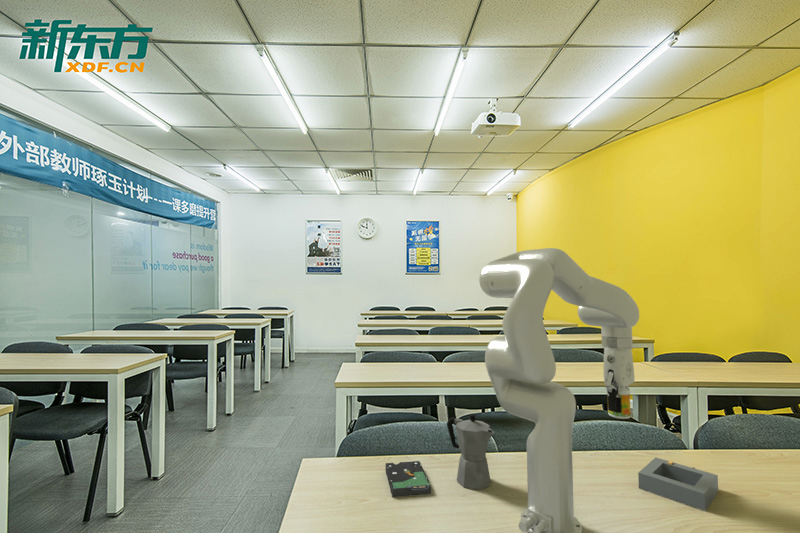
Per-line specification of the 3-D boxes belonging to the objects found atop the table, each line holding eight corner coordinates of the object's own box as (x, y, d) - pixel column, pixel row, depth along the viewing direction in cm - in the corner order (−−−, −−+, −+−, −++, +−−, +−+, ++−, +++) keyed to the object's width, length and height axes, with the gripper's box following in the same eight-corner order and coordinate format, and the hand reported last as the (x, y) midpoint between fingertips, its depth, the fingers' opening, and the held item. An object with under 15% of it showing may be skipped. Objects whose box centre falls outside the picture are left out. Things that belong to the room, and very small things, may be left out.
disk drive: (384, 472, 112) (392, 499, 97) (384, 462, 112) (392, 488, 98) (419, 470, 114) (432, 495, 99) (419, 460, 114) (432, 484, 99)
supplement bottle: (610, 418, 105) (609, 381, 105) (606, 412, 110) (604, 377, 110) (633, 420, 103) (631, 383, 104) (627, 413, 108) (626, 378, 109)
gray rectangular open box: (705, 511, 91) (704, 492, 91) (638, 488, 102) (638, 471, 102) (725, 479, 106) (724, 463, 106) (665, 462, 117) (665, 447, 117)
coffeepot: (504, 483, 104) (502, 415, 105) (485, 497, 98) (483, 424, 99) (457, 465, 115) (456, 404, 116) (437, 476, 108) (437, 411, 109)
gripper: (620, 347, 99) (622, 419, 98) (642, 341, 111) (644, 405, 110) (590, 344, 105) (592, 412, 104) (613, 338, 116) (616, 400, 115)
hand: (619, 408), depth 107 cm, fingers closed on supplement bottle, 5 cm apart
